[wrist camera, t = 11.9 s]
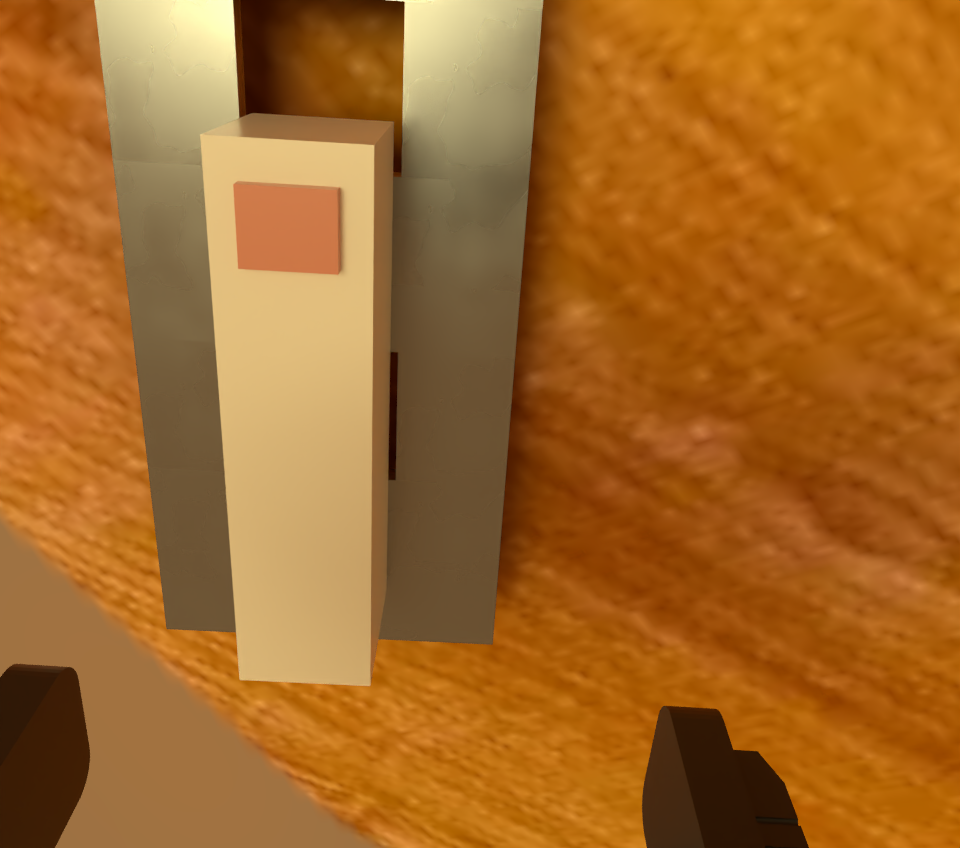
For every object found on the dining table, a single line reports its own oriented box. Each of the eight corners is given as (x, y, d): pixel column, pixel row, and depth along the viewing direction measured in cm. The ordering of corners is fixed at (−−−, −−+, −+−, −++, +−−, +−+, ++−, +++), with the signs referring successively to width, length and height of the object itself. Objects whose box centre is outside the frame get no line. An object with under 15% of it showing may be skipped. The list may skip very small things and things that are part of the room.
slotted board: (135, -117, 26) (79, -138, 22) (541, -90, 26) (551, -107, 22) (198, 567, 36) (166, 629, 32) (491, 581, 36) (492, 644, 33)
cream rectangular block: (274, 103, 27) (195, 136, 20) (402, 111, 28) (371, 147, 20) (291, 539, 34) (236, 689, 27) (394, 544, 34) (368, 695, 27)
